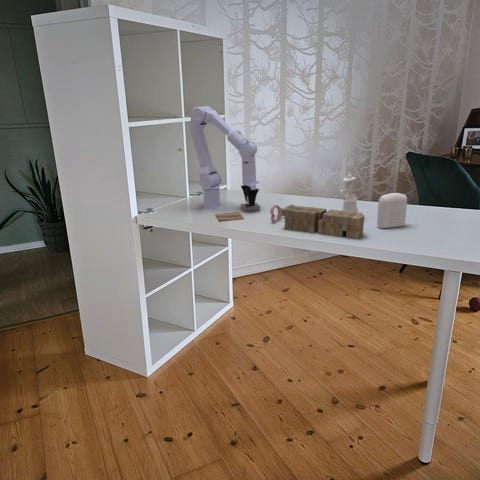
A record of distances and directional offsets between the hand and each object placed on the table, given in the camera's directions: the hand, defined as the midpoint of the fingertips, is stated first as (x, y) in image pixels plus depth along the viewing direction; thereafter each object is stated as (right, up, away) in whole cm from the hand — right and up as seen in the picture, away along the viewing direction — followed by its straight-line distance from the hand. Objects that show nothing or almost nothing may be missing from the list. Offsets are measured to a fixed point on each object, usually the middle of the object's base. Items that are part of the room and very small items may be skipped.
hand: (250, 203), depth 187 cm
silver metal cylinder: (0, -3, +1) cm, 3 cm away
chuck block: (0, -3, +1) cm, 3 cm away
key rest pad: (-9, -7, -9) cm, 15 cm away
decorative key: (+15, -7, -11) cm, 20 cm away
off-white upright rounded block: (+51, -11, -29) cm, 60 cm away
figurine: (+39, -8, -17) cm, 43 cm away
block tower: (+25, -13, -31) cm, 42 cm away
